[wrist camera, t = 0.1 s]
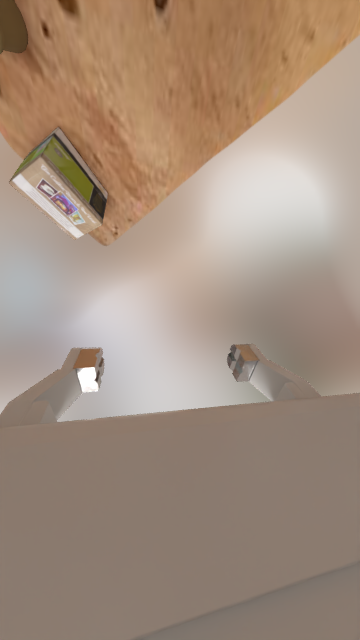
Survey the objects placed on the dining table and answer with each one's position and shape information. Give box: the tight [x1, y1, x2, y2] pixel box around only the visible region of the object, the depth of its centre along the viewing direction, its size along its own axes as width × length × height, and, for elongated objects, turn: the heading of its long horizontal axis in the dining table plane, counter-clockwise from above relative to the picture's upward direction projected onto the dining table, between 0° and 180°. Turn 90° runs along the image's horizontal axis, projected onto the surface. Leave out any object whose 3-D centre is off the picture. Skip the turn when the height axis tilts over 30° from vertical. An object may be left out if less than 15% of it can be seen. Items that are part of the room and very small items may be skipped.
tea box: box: [9, 127, 108, 240], centre depth 43 cm, size 15×10×15 cm, turn 24°
